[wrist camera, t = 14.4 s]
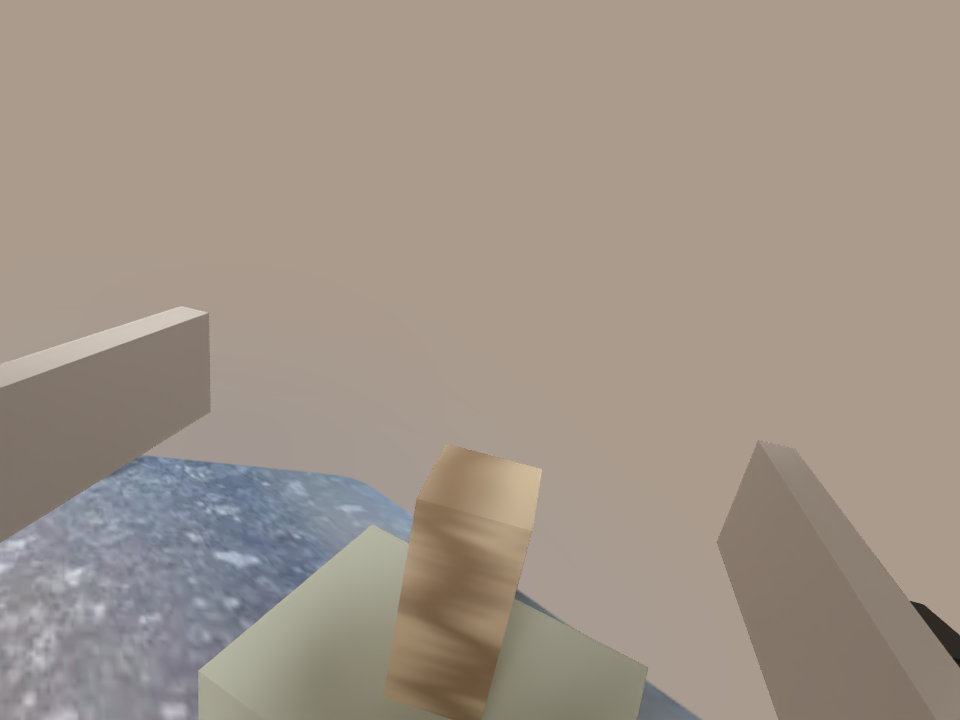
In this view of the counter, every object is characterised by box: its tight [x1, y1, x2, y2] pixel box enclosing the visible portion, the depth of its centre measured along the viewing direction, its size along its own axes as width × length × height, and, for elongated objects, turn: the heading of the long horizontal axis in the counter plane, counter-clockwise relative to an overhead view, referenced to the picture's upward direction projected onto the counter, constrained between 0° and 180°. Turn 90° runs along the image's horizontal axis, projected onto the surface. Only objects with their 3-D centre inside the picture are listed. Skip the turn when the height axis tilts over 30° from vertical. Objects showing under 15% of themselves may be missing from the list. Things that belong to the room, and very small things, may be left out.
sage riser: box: [199, 525, 648, 720], centre depth 30 cm, size 20×14×5 cm
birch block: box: [383, 444, 542, 720], centre depth 27 cm, size 5×5×12 cm
